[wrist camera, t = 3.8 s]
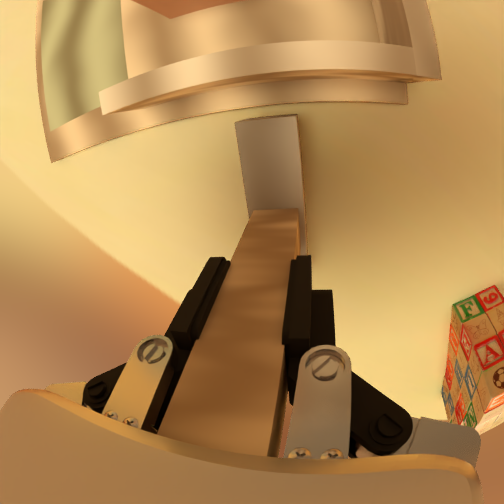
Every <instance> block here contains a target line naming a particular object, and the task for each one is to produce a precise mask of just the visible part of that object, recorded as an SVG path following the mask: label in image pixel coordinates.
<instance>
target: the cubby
mask: <svg viewBox="0 0 504 504" xmlns="http://www.w3.org/2000/svg"><path fill="white" fill-rule="evenodd" d="M36 70H37V83H38V93H39V101H40V108H41V115H42V121H43V127H44V132H45V137H46V142H47V147H48V151H49V155H50V160H51V163H53V162H55V161H57V160H60V159H62V158H64V157H67V156H69V155H71V154H74V153H76V152H79V151H81V150H84V149H86V148H89V147H91V146H94V145H97V144H100V143H102V142H105V141H108V140H111V139H114V138H117V137H120V136H123V135H126V134H129V133H132V132H136V131H139V130H143V129H146V128H150V127H153V126H157V125H161V124H165V123H169V122H173V121H177V120H181V119H186V118H190V117H195V116H200V115H205V114H210V113H215V112H221V111H227V110H234V109H240V108H247V107H255V106H264V105H274V104H285V103H299V102H321V101H361V102H383V103H396V104H408V96H407V85H406V83H413V82H422V81H433V80H442V78H441V70H440V62H439V56H438V50H437V44H436V39H435V34H434V30H433V25H432V21H431V17H430V13H429V9H428V6H427V2H426V0H245V1H239V2H234V3H229V4H224V5H219V6H215V7H211V8H207V9H203V10H199V11H195V12H192V13H188V14H185V15H182V16H179V17H175V18H172V19H169V18H167V17H165V16H163V15H161V14H159V13H157V12H155V11H153V10H151V9H149V8H147V7H145V6H143V5H141V4H138V3H136V2H134V1H131V0H38V3H37V15H36Z"/></svg>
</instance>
